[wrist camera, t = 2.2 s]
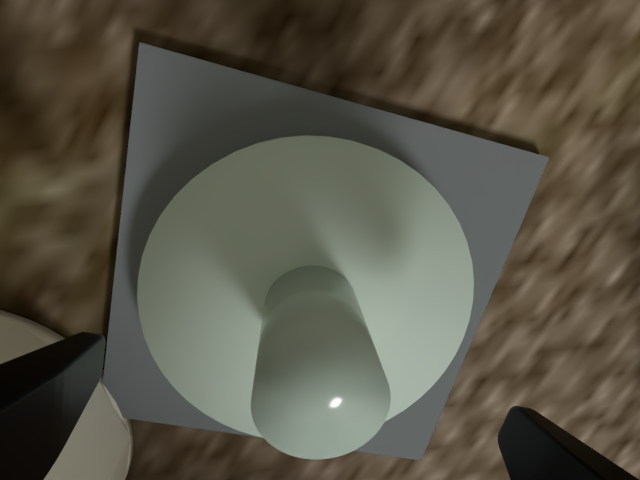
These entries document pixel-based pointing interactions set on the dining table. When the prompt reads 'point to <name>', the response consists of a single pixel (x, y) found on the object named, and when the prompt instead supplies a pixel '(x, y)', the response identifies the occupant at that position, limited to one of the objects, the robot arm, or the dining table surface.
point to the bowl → (93, 425)
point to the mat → (273, 122)
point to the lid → (305, 291)
